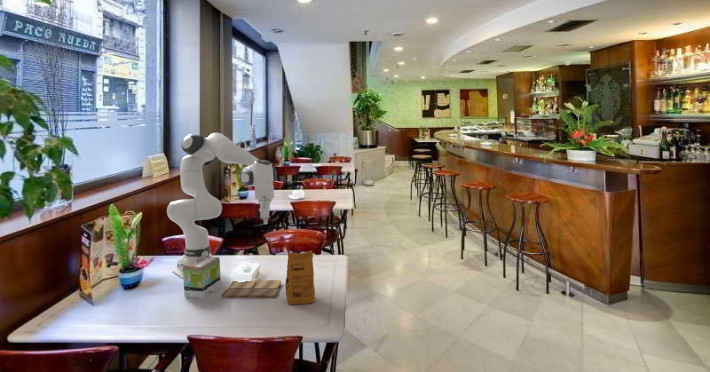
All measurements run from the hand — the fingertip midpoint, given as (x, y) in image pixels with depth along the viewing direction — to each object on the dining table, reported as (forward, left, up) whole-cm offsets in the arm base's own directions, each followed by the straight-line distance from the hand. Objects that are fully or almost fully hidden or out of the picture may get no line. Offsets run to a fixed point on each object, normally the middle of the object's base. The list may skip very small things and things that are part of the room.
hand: (265, 223), depth 200 cm
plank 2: (+5, -5, -29) cm, 29 cm away
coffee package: (+28, -7, -29) cm, 41 cm away
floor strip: (+5, -15, -29) cm, 33 cm away
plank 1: (-5, -11, -29) cm, 31 cm away
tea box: (-16, -25, -29) cm, 42 cm away
